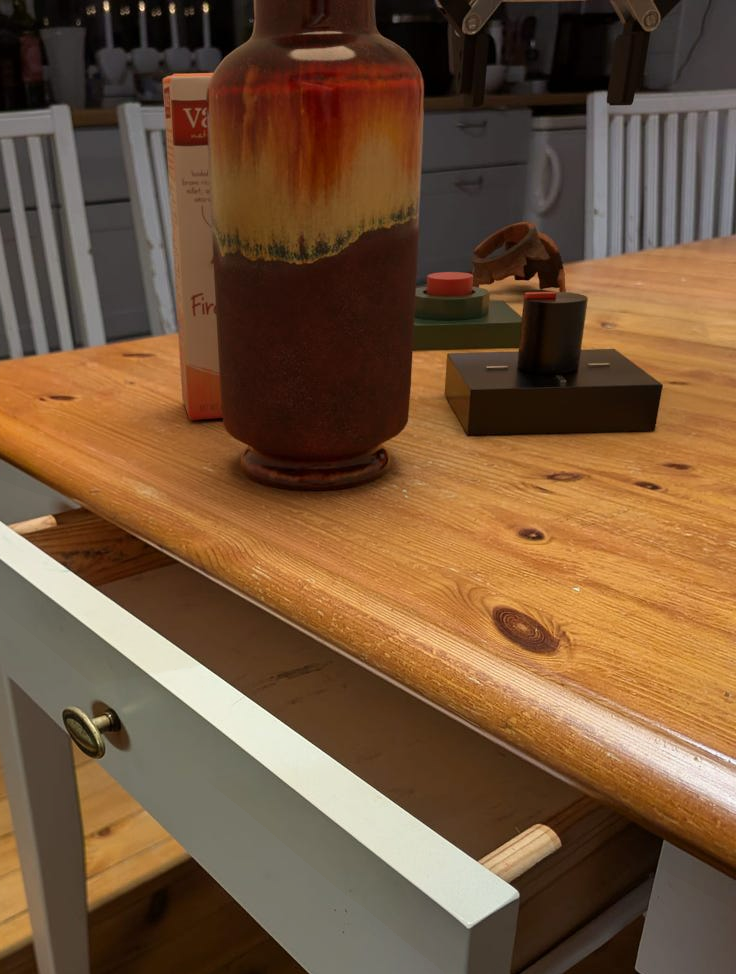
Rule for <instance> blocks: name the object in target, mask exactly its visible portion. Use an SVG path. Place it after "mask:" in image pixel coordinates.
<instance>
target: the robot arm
mask: <svg viewBox="0 0 736 974" xmlns="http://www.w3.org/2000/svg"><path fill="white" fill-rule="evenodd" d="M433 1H434V4H435V7H436V8H437V9H438V11H439V12H440V13H441V14H442V15H443V17H444V18H445V20H446V21H447V22H448V23H449V24H450V26H451V27H452V29H453V30H454V33H455V35H456V36H457V37H458V38H459V42H458V54H457V55H458V56H457V69H456V80H455V81H456V82H455V84H456V85H455V93H456V95H463V97H462V108H463V109H480V108H481V107H483V106H484V102H485V92H486V80H487V68H488V59H489V58H488V56H489V46H490V37H489V36H488V34H487V33H486V34H485V27H486V23H487V22H488V20H489V19H490V18H491V17H492V15H493V14H494V13H495V11H496V10H497V9H498V8H499V6H500V5H501V4H502V3H503V2H504V3H509V2H510V3H523V2H524V3H525V2H529V3H531V2H532V3H533V2H578V1H581V2H582V1H586V0H470V2H468V1H467V0H433ZM681 1H682V0H609V2H610V4H611V6H612V8H613V9H614V11H615V12H616V15H617V16H618V18H619V20H620V22H621V23H622V25H623V29H622V33H621V34H618V35H617V36H616V38H615V39H614V45H613V52H612V57H611V58H612V59H611V66H610V73H609V80H608V86H607V87H608V88H607V96H606V104H609V106H632V105H633V103H634V100H635V93H636V92H639V91H640V90H641V88H642V86H643V83H644V76H645V69H646V63H647V59H648V51H649V44H650V39H651V32H653V31H655V30H656V29H657V28H658V27H659V25H660V22H662V21H663V20H664V18H666V16H667V15H668V14H669V13H670V12H671V11H672V10H673V9H674V8H675V7H676V6H677V5H678V4H679V3H681Z"/></svg>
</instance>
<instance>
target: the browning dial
mask: <svg viewBox="0 0 736 974" xmlns="http://www.w3.org/2000/svg"><path fill="white" fill-rule="evenodd" d="M588 301H589V297H588V296H587V295H584V294H581V293H576V292H569V291H568V292H567V291H566V292H559V291H530V292H524V297H523V304H522V313H521V317H522V323H521V333H520V343H519V348H518V351H519V352H518V362H517V366H518V368H519V369H521V370H524V371H527V372H532V373H540V374H563V373H569V372H573V371H576V370H577V369H578V368H579V362H580V354H581V350H582V347H583V346H582V345H583V338H584V331H585V325H586V315H587V308H588Z"/></svg>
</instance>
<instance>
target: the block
mask: <svg viewBox="0 0 736 974" xmlns="http://www.w3.org/2000/svg"><path fill="white" fill-rule="evenodd" d="M426 289H427V286H419V287H416V294H415V314H414V333H413V352H417V351H418V352H419V351H450V350H456V351H457V350H484V349H485V350H490V349H493V350H494V349H519V343H520V333H521V323H522V315H520V314H519V313H518V312H517V311H515V309H514V308H513V307H511V306H510V305H509V304H508V303H507V302H506V301H505V300H490V296H491V293H490V291H489V290H488V289H487V288H483V287H480V286H479V287H474V286H472V294H471V295H464V296H432V295H427V294H426Z"/></svg>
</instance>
